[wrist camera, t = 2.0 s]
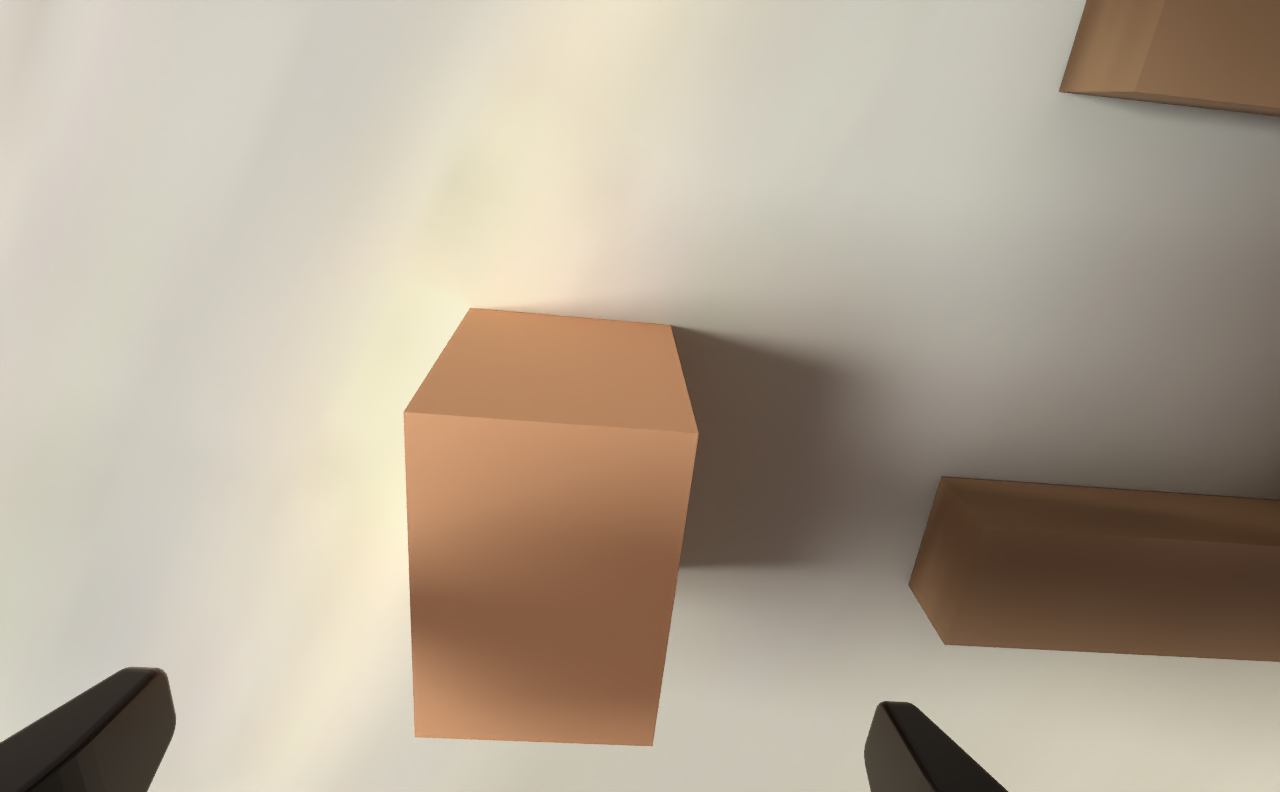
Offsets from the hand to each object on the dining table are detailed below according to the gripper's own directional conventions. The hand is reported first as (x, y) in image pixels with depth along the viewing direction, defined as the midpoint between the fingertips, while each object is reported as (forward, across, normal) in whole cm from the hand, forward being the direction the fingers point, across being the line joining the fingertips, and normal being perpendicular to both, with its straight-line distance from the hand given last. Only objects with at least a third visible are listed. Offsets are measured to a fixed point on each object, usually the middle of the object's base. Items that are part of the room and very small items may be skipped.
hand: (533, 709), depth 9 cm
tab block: (+7, 0, 0) cm, 7 cm away
